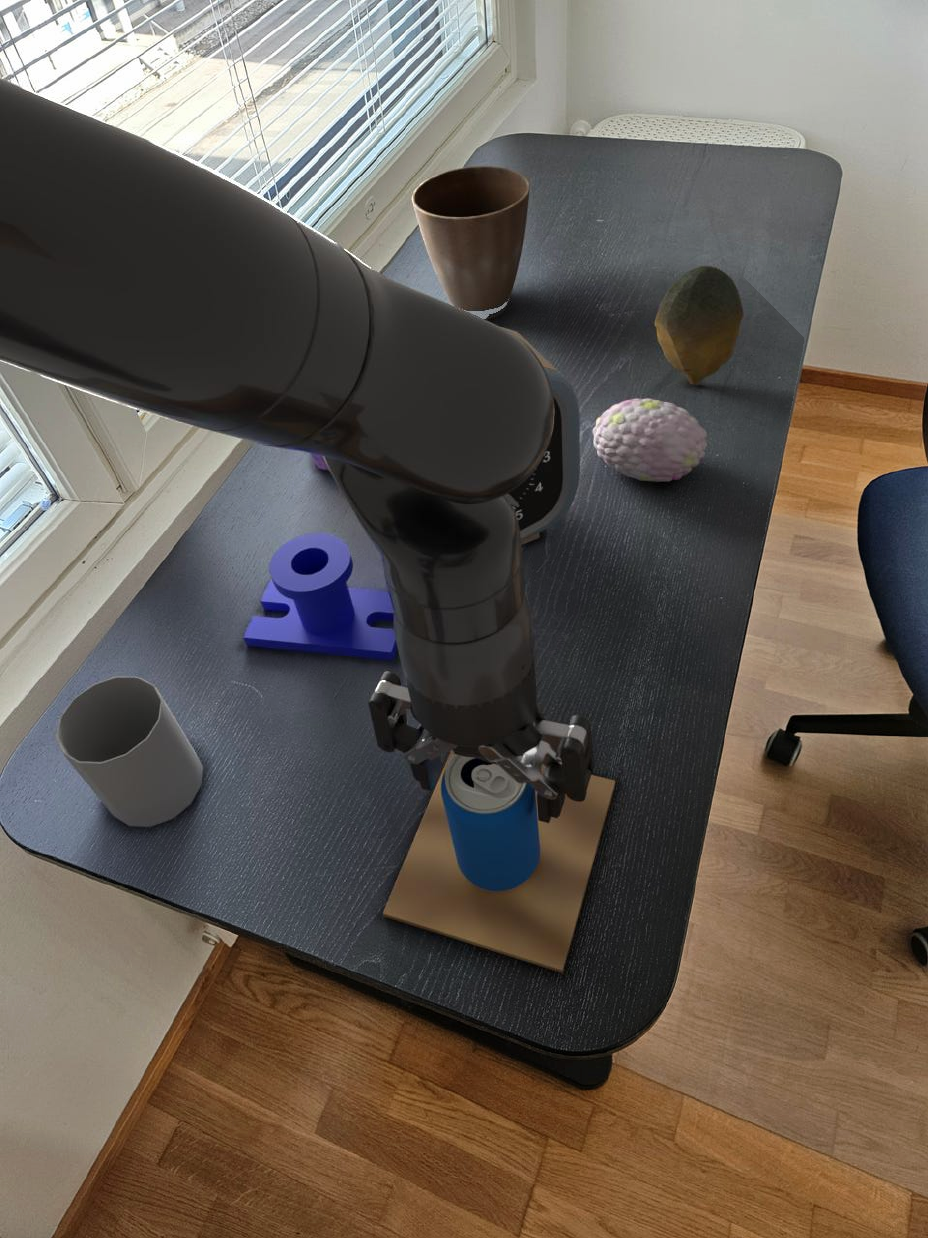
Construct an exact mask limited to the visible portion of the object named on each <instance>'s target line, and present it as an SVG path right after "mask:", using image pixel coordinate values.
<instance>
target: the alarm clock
mask: <svg viewBox="0 0 928 1238" xmlns="http://www.w3.org/2000/svg"><path fill="white" fill-rule="evenodd" d="M500 327H501V326H500ZM501 328H503V329H505V330H507V331H509V332H510V333H512V334H514V335H515V336H517V337H518V338H519V339H521V340H522V341H523V342H524V343H525V344H527V345H528V346H529V347H530V348H531V350H532V351H533V352H534V353H535V354H536V356H537V357H538V359H539V360H540V362H541V364H542V365H543V367H544V369H545V371H546V374H547V376H548V379H549V382H550V385H551V389H552V393H553V400H554V424H553V430H552V435H551V439H550V442H549V445H548V447H547V450H546V452H545V454H544V456H543V458H542V460H541V462H540V463H539V465H538V466H537V468H536V469H535V470H534V471H533V473H532V474H531V475H530V476H529V477H528V478H527V479H526V480H525V481H524V482H523V483H522V484H521V485H519V486H518V487H517V488H515V489H514V490H513V491H511V492H509V493H508V494H506V495H504V497H505V498H506V499H507V500H508V501H509V503H510V504H511V506H512V508H513V509H514V511H515V513H516V515H517V518H518V523H519V528H520V534H521V542H522V545H525V544H527V543H530V542H532V541H534V540H537V539H539V538H540V533H541V532H543V531H545V530H546V529H548V528H550V527H552V526H554V525H556V523H558V522H559V520H560V519H561V518H562V517H564V516H565V514H567V512H568V510H569V509H570V507H571V506H572V504H573V503H574V501H575V498H576V495H577V493H578V489H579V485H580V474H581V463H580V462H581V450H580V449H581V447H580V446H581V445H580V444H581V443H580V441H581V438H580V437H581V433H580V431H581V430H580V428H581V427H580V426H581V425H580V422H581V421H580V420H581V419H580V405H579V399H578V397H577V395H576V391H575V390H574V387H573V385H572V383H570V382H569V381H568V380H567V379H566V378H565V377H564V376H563V375H562V374H561V373H560V371H558V370H557V369H556V368H555V367H554V366H553V365H552V364H551V363H550V362H549V361H548V360H547V359H546V358H545V357H544V356H543V355H542V354H541V353H540V352H539V351H538V350H537V349H536V348H535V347H533V345H531V344H530V342H529V341H528V340H527V339H526V338H524V337H523V335H521V334H520V333H519V332H518V331H516V330H513V329H509V328H506V327H501Z"/></svg>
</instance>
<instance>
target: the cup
mask: <svg viewBox="0 0 928 1238" xmlns="http://www.w3.org/2000/svg"><path fill="white" fill-rule="evenodd" d="M57 723H58V725H57V729H56V732H55V738H56V741H57V743H58V747H59V749H60V751H61V754H62V755H63V756H64V757H65V759H66V760H67V761H68V762H69V763H70V765H71V766H72V767H73V768H74V770H75V771H76V772H77V773H78V774H79V775H80V777H81V778H82V780H83V781H84V782H85V783H86V784H87V786H88V787H90V789H91V790H92V791H93V793H94V794H95V795H96V797H98V799H99V800H100V801H101V803H102V804H103V805H104V806H105V808H106V809H107V810H108V811H109V812H110V814H111V815H112V816H113V817H114V818H116V819H117V820H119V821H120V822H122V823H124V824H125V825H127V826H129V827H141V828H142V827H143V828H151V827H154V826H156V825H160V824H162V823H165V822H168V821H170V820H173V819H174V818H176V817H177V816H178V815H179V814H181V813H182V812H183V811H184V810H185V809H186V808H188V807H189V806H191V804H192V802H193V801H194V800H195V798H196V796H197V794H198V793H199V791H200V789H201V787H202V785H203V774H204V766H203V764H202V762H201V760H200V758H199V756H198V754H197V753H196V752H197V751H196V750H195V749H194V747H193V746H192V744H191V742H190V741H189V740H188V737H187V736H186V734H185V732H184V731H183V729H182V728H181V726H180V724H179V723H178V721H177V719H176V718H175V716H174V714H173V713H172V711H171V710H170V707H169V706H168V705H167V703H166V701H165V700H164V698H163V697H162V695H161V693H160V691H159V690H158V688H157V686H156V685H155V684H154V683H151V682H149V681H148V680H146V679H144V678H142V677H140V676H131V675H129V676H126V675H124V676H123V675H121V676H120V675H116V676H113V677H110V678H107V679H104V680H101V681H98V682H95V683H93V684H92V685H90V686H89V687H87V688H86V689H85V690H83V691H82V692H80V693H79V694H77V695H76V696H74V697H73V698H72V700H71V701H70V702H69V703H68V705H67V706H66V708H65V709H64V711H63V712H62V713H61V715H60V716H59V719H58V722H57Z"/></svg>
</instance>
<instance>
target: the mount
mask: <svg viewBox="0 0 928 1238" xmlns="http://www.w3.org/2000/svg"><path fill="white" fill-rule="evenodd" d="M353 568H354V562H353V558H352V554H351V551H350V548H349V546H348V544H347V543H346V542H345V541H344V540H343V539H342V538H340V537H338V536H337V535H335V534H331V533H326V532H311V533H306V534H300V535H298V536H295V537H294V538H292V539H289V540H288V541H286V542H285V543H283V544H282V545H281V546H279V548H278V549H277V550H275V552H274V554H273V555H272V557H271V559H270V561H269V567H268V571H269V576H270V578H271V580H272V581H271V580H269V582H268V583H267V586H266V588H265V590H264V592H263V595H262V597H261V599H260V600H259V601H260V605H261V607H262V609H263V610H265V611H266V610H268V611H276V612H286V613H287V614H286V615H284V616H283V617H279V618H278V617H277V618H276V617H269V616H267V617H266V616H258V615H257V616H256V615H253V616H252V618H251V620H250V622H249V624H248V626H247V628H246V630H245V632H244V635H243V636H242V637H243V640H244V643H245V645H246V646H248V647H258V648H267V649H277V650H286V651H295V652H307V653H314V654H315V653H317V654H325V655H335V656H344V657H354V658H364V659H365V658H366V659H374V660H383V661H392V662H393V661H394V660H395V656H396V654H397V651H398V648H397V644H396V638H395V632H394V628H393V629H392V628H383V627H374V626H373V627H372V626H371V625H372V624H373V623H375V622H377V621H384V622H394V614H393V607H392V603H391V599H390V595H389V591H388V590H377V589H367V588H366V589H365V588H354V587H348V584H347V582H348V581H349V579H350V578H351V576H352V573H353V570H354V569H353Z"/></svg>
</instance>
